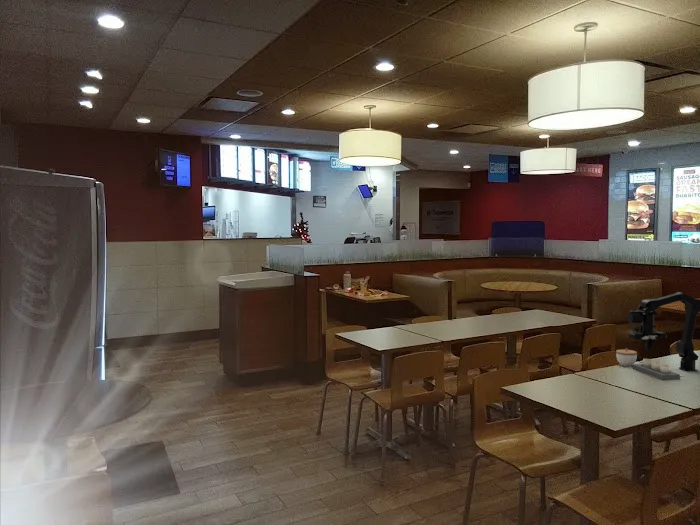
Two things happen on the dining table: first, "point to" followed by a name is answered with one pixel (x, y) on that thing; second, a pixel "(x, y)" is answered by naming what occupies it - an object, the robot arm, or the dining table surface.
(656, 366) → the button
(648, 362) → the button
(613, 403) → the dining table surface
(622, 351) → the lidded jar
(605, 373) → the dining table surface
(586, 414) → the dining table surface
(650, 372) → the board
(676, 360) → the dining table surface
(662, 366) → the button
